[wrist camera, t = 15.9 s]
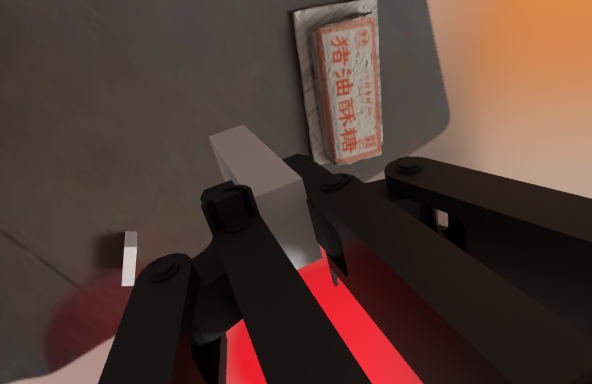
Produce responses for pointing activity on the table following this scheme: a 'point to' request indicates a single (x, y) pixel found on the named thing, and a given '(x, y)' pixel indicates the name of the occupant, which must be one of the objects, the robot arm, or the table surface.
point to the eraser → (129, 258)
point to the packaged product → (341, 80)
